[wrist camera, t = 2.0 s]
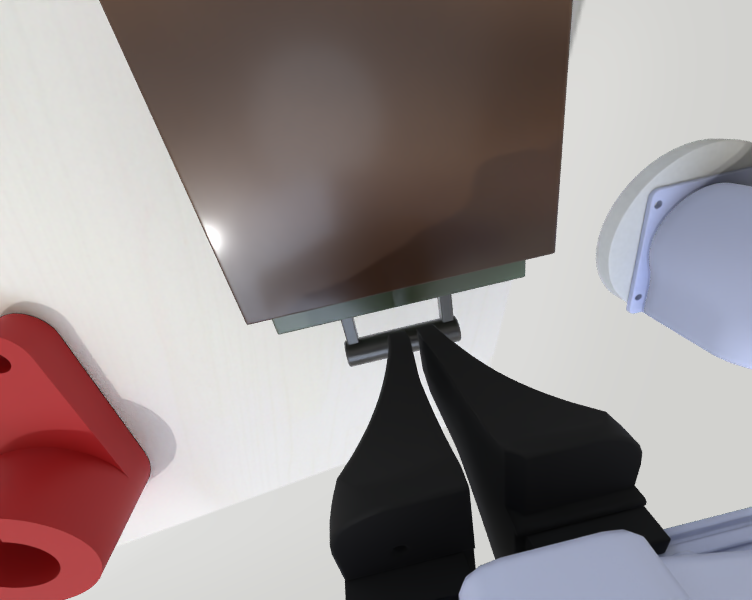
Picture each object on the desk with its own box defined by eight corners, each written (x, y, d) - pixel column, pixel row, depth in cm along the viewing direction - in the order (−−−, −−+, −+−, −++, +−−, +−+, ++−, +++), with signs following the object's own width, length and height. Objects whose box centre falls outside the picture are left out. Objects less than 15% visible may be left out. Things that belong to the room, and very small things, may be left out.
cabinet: (464, 200, 20) (555, 253, 12) (278, 242, 20) (246, 326, 12) (442, -142, 13) (611, -519, 6) (163, -85, 13) (-83, -394, 5)
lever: (160, 499, 29) (118, 596, 23) (31, 506, 27) (-49, 612, 21) (107, 316, 20) (21, 393, 15) (-82, 310, 19) (-262, 395, 13)
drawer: (466, 295, 22) (523, 367, 16) (315, 331, 22) (311, 418, 15) (440, -70, 14) (539, -233, 7) (197, -19, 14) (83, -141, 7)
